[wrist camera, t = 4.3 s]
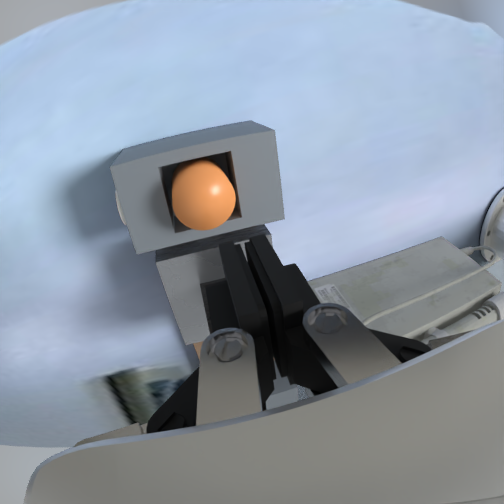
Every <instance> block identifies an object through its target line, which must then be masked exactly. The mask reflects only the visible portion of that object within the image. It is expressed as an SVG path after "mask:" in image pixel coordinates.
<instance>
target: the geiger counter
mask: <svg viewBox="0 0 504 504" xmlns="http://www.w3.org/2000/svg"><path fill="white" fill-rule="evenodd" d="M483 249H487V250H489V251H491V252H492V253H493V254H494V259H493V260H492V261H491V262H489V263H488V264H486V265H484V266H480V265H479V264H478V263H477V262H475V261H474V260H473V259H471V258H470V257H469V255H471V254H473V251H475V250H483ZM497 257H498V256H497V253H496V251H495V250H494V249H493V248H491V247H488V246H478V247H471V246H469V247H467V248H465V247H464V248H462V249H458V248H457V247H456V246H454V245H453V244H451V243H450V242H449V241H447V240H446V239H445V238H443V237H439V238H436V239H433V240H430V241H428V242H425V243H422V244H419V245H416V246H414V247H411V248H408V249H405V250H402V251H399V252H396V253H393V254H390V255H387V256H385V257H382V258H379V259H376V260H373V261H370V262H367V263H364V264H361V265H358V266H354V267H351V268H348V269H345V270H342V271H339V272H336V273H333V274H330V275H326V276H323V277H320V278H317V279H314V280H311V281H307V282H308V284H309V285H310V287H311V288H312V290H313V292H314V293H315V295H316V296H317V298H318V299H319V301H320V303H336V304H339V305H342V306H344V307H346V308H347V309H349V310H350V311H351V312H352V313H353V314H354V315H355V316H356V317H357V318H358V319H359V320H360V321H361V322H362V323H363V324H364V325H365V326H366V327H367V328H369V329H373V330H377V331H381V332H385V333H389V334H393V335H397V336H402V337H406V338H410V339H414V340H418V341H420V342H423V343H425V344H428V342H429V340H433V339H437V338H442V337H446V336H450V335H455V334H459V333H463V332H467V331H471V330H476V329H478V328H480V327H482V326H485V325H487V324H490V323H492V322H495V321H498V320H502V319H504V292H500V289H501V284H502V283H501V282H500V281H499V280H498V279H497V278H495V277H494V276H493V275H492V274H490V273H489V272H488V271H487V270H485V269H487V268H489V267H490V266H492V265H493V264H494V263H495V262H496V260H497Z"/></svg>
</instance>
